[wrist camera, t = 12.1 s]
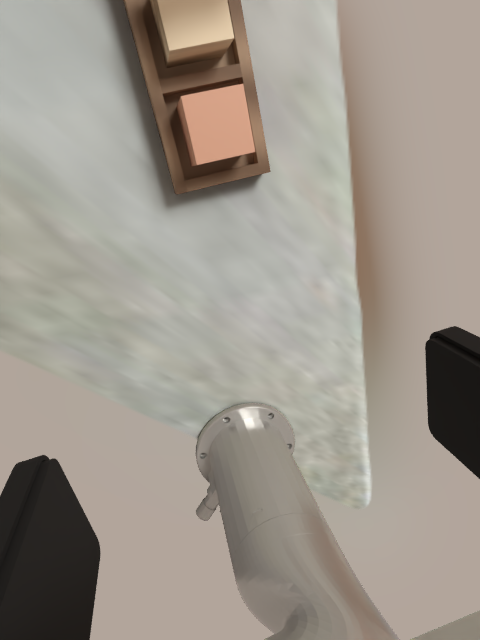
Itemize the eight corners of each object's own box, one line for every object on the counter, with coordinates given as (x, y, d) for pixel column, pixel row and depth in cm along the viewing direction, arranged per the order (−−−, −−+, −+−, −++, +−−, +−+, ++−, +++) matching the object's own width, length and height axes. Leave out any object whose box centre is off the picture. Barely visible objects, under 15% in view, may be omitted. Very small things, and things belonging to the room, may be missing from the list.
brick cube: (242, 155, 37) (255, 151, 32) (190, 166, 36) (196, 165, 32) (230, 95, 35) (243, 83, 30) (176, 107, 34) (180, 96, 30)
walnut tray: (263, 172, 39) (282, 171, 33) (175, 193, 38) (179, 196, 32) (200, -175, 29) (212, -257, 24) (80, -160, 28) (63, -243, 23)
